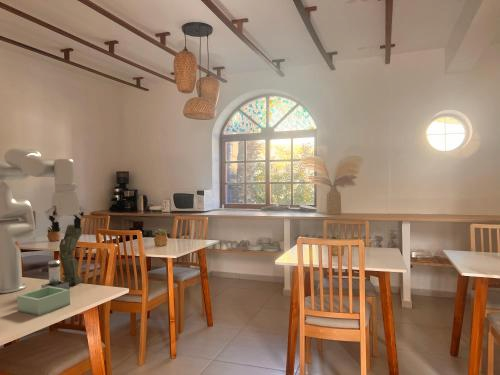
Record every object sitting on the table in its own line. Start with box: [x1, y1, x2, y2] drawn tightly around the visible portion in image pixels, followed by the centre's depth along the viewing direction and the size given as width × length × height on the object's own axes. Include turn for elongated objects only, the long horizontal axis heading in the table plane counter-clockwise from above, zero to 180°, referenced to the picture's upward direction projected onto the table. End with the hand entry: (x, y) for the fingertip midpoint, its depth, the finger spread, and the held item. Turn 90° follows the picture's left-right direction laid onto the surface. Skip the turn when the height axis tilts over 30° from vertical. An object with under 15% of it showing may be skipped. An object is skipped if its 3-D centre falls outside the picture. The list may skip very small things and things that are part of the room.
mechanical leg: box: [58, 224, 84, 288], centre depth 172 cm, size 14×7×30 cm, turn 168°
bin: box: [16, 286, 71, 317], centre depth 140 cm, size 13×13×6 cm
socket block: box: [40, 280, 71, 291], centre depth 156 cm, size 8×8×5 cm
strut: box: [47, 259, 62, 286], centre depth 156 cm, size 4×4×12 cm
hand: (67, 229), depth 147 cm, fingers open, 9 cm apart
